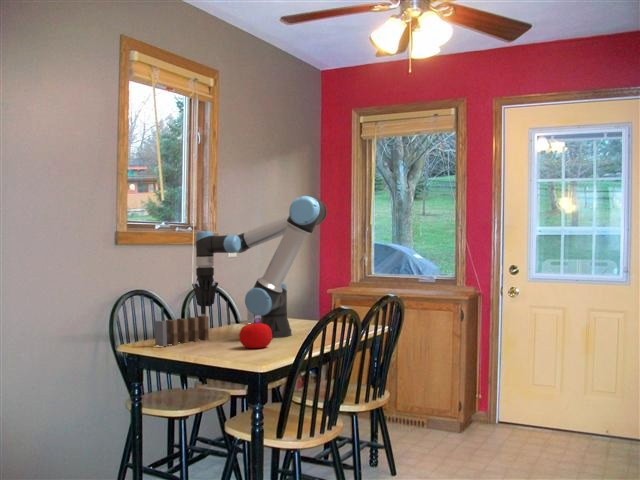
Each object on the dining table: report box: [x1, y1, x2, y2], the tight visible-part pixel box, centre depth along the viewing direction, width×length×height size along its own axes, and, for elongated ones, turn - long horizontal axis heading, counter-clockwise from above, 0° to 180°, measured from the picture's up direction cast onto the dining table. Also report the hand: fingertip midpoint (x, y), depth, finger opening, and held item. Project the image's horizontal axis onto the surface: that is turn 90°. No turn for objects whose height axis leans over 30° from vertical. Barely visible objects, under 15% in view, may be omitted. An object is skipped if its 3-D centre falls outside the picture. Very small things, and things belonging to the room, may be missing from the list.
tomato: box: [238, 321, 273, 349], centre depth 243 cm, size 11×13×10 cm
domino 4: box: [186, 316, 200, 343], centre depth 266 cm, size 5×2×10 cm, turn 51°
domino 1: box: [154, 320, 167, 346], centre depth 254 cm, size 5×2×10 cm, turn 51°
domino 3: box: [176, 318, 189, 344], centre depth 262 cm, size 5×2×10 cm, turn 51°
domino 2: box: [165, 319, 179, 346], centre depth 258 cm, size 5×2×10 cm, turn 51°
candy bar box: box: [245, 292, 261, 324], centre depth 326 cm, size 11×5×16 cm, turn 148°
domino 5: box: [196, 315, 210, 341], centre depth 271 cm, size 5×2×10 cm, turn 51°
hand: (205, 321), depth 272 cm, fingers closed
